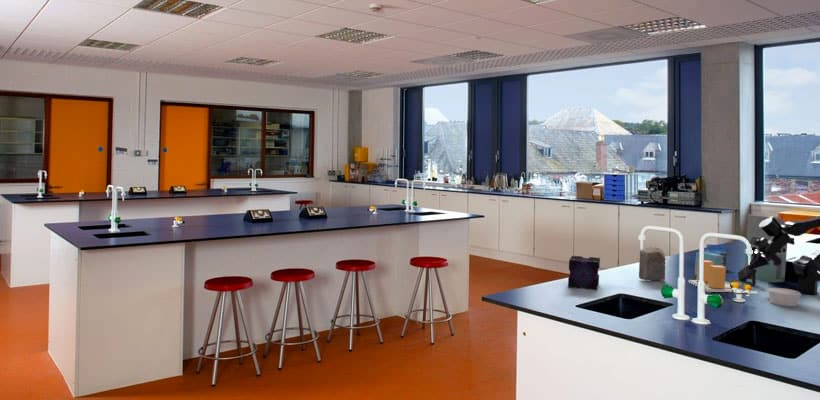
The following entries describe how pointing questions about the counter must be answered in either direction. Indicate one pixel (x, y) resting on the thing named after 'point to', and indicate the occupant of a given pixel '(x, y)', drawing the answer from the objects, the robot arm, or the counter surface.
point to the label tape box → (717, 251)
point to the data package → (709, 259)
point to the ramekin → (783, 296)
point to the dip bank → (710, 289)
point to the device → (753, 230)
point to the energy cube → (584, 272)
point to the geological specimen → (652, 264)
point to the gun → (747, 274)
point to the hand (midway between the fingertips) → (748, 268)
